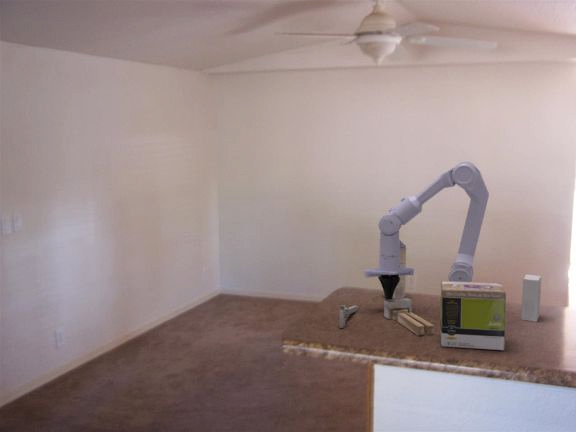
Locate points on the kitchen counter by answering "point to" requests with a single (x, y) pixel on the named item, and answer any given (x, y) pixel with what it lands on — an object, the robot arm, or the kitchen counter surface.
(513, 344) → the kitchen counter surface
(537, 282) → the skincare box
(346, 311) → the caliper
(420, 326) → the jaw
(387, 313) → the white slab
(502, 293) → the tea box
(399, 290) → the cream cylinder
